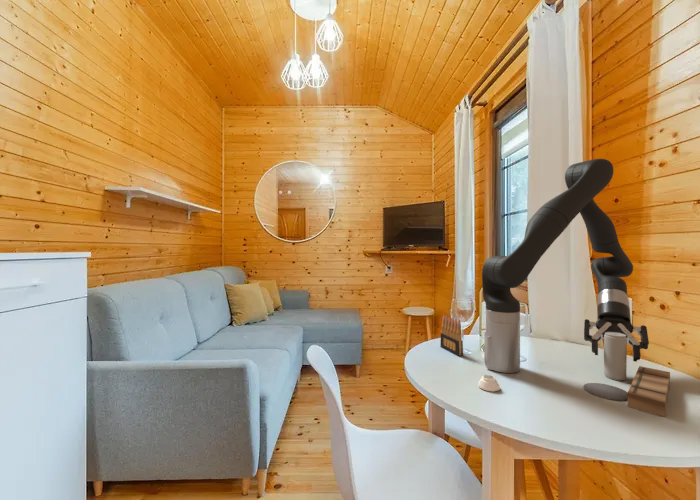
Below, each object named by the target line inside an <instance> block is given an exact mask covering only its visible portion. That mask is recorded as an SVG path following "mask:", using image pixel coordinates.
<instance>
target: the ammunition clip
mask: <svg viewBox="0 0 700 500" xmlns="http://www.w3.org/2000/svg"><path fill="white" fill-rule="evenodd" d="M462 335H463V333H462V324H461V320H460V319H457V318H454V317H451V315H450V316H448V315H447V314H443V315H442V322H441V332H440V344H439V345H440V348H442V349H443V350H446V351H447V352H449V353H451V354H453V355H455V356H457V357H463V356H464V345H463V344H464V343H463V342H464V341H463V339H462V338H463V336H462Z"/></svg>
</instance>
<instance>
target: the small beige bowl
mask: <svg viewBox="0 0 700 500" xmlns="http://www.w3.org/2000/svg"><path fill="white" fill-rule="evenodd" d="M477 386H478V388H480V389H482V390H484V391H485V392H486V391H487V392H498V391H500V389H501V387H500V384H499V383H498V380H497V379H496V376H494V375H492V374H483V375H482V376H481V378H480V380H479V381H478V384H477Z"/></svg>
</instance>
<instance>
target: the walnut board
mask: <svg viewBox="0 0 700 500" xmlns="http://www.w3.org/2000/svg"><path fill="white" fill-rule="evenodd" d="M670 385H671V371H665V370H661V369H655V368H651V367H647V366H641V365H639V366H638V368H637V371H636V372H635V375H634V377H633V379H632V382H631V385H629V389H628V391H627V392H628V400H627V402H626V403H627V407H628V408H632V409H636V410H639V411H643V412H645V413H650V414H654V415H657V416H662V417H666V412H667V407H668V406H667V405H668V399H669V393H670V387H671V386H670Z"/></svg>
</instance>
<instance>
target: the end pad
mask: <svg viewBox="0 0 700 500" xmlns="http://www.w3.org/2000/svg"><path fill="white" fill-rule="evenodd" d="M583 389H584V390H585V391H586V392H587V393H589V394H591V395H593V396H596V397H599V398H602V399H606V400H610V401H616V402H625V401H628V391H627V390H625V389H624V388H623V389H622V388H620V387H617V386H613V385H612V384H611V385H609V384H605V383H602V382H601V383H600V382H587V383H585V384H584V385H583Z"/></svg>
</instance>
